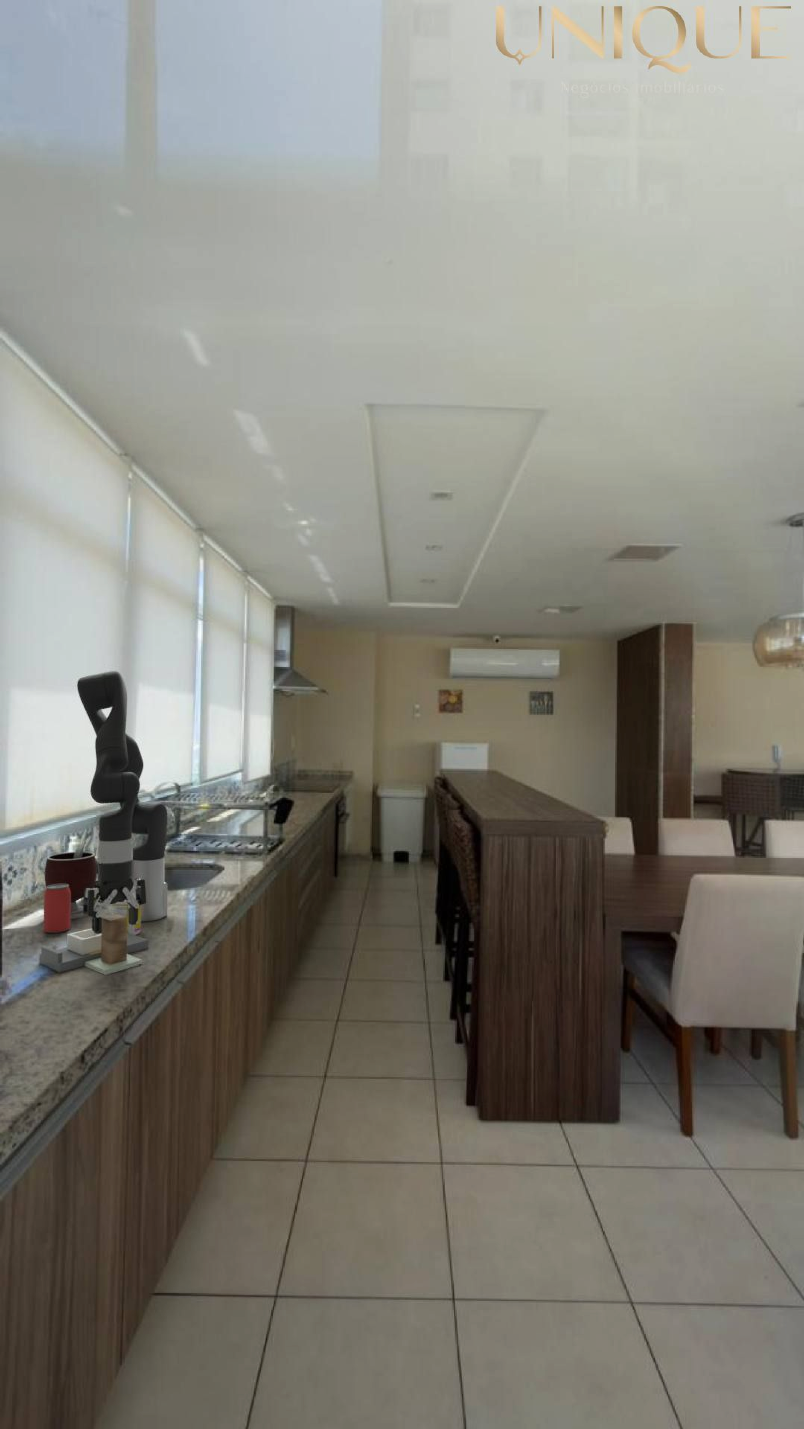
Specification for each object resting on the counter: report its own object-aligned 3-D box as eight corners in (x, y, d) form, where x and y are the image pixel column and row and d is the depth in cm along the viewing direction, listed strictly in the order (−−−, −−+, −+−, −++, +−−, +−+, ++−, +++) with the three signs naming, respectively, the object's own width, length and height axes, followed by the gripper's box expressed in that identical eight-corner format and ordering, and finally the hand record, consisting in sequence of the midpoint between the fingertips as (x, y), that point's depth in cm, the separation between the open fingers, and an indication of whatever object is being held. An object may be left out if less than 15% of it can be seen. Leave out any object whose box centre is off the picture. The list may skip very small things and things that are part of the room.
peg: (117, 956, 164) (117, 914, 164) (126, 960, 161) (126, 916, 161) (101, 961, 160) (101, 917, 161) (110, 964, 158) (110, 920, 158)
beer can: (76, 928, 190) (76, 884, 190) (57, 934, 184) (57, 889, 184) (57, 925, 192) (57, 882, 193) (37, 932, 186) (38, 887, 186)
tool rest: (121, 956, 167) (121, 951, 167) (142, 964, 161) (142, 959, 161) (84, 966, 160) (84, 961, 160) (105, 974, 154) (105, 970, 154)
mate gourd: (83, 920, 198) (83, 850, 198) (34, 920, 198) (35, 849, 198) (107, 906, 213) (107, 841, 213) (62, 906, 213) (62, 840, 214)
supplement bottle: (136, 928, 189) (137, 881, 190) (143, 934, 184) (144, 886, 184) (111, 933, 186) (111, 884, 186) (117, 939, 180) (117, 889, 180)
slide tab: (96, 941, 171) (96, 927, 172) (111, 947, 167) (111, 932, 167) (67, 948, 166) (67, 934, 166) (82, 955, 161) (82, 939, 161)
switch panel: (127, 940, 179) (127, 924, 179) (148, 947, 173) (148, 931, 173) (39, 963, 162) (39, 945, 162) (59, 972, 156) (59, 954, 156)
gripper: (134, 852, 169) (134, 918, 169) (77, 861, 158) (77, 933, 158) (152, 855, 164) (152, 924, 164) (94, 865, 153) (94, 939, 153)
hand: (115, 928), depth 161 cm, fingers open, 8 cm apart
